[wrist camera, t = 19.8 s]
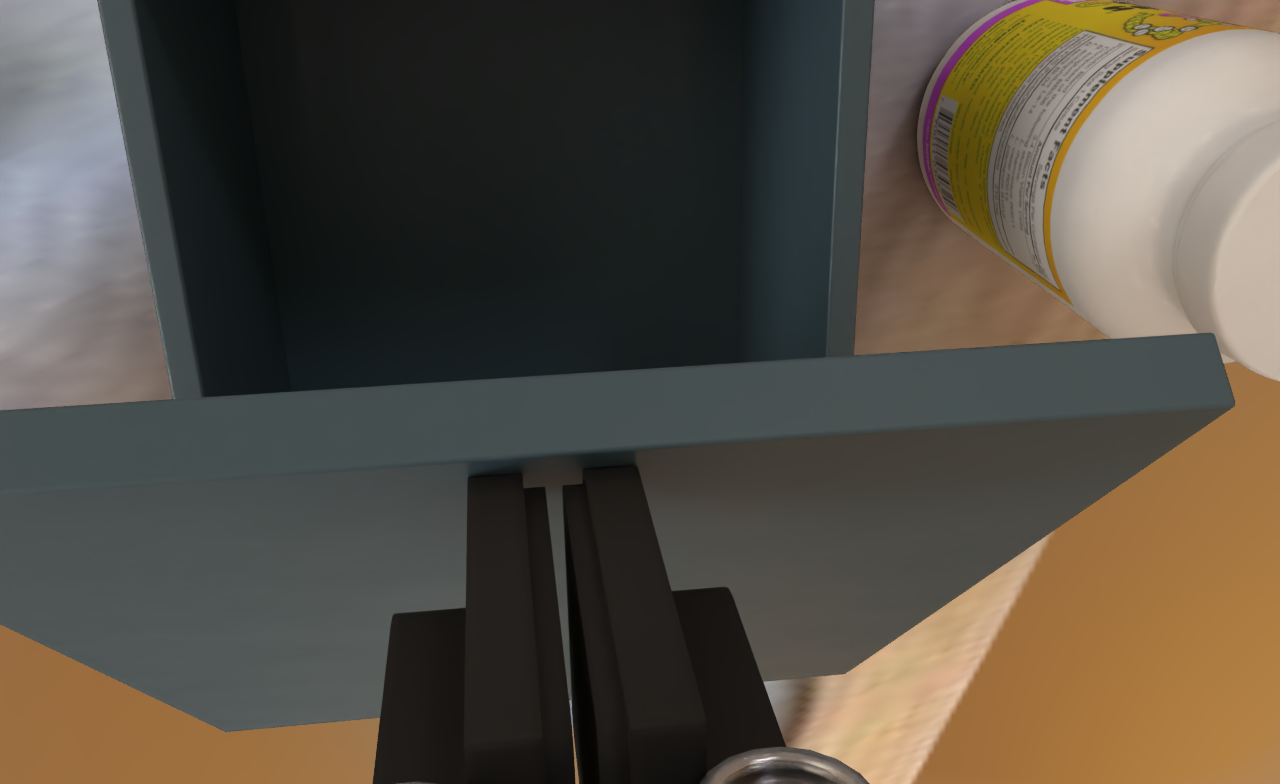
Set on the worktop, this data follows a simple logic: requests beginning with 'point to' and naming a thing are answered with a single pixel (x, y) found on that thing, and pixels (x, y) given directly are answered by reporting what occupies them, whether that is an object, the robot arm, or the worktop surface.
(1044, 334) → the worktop surface
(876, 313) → the worktop surface
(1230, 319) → the supplement bottle
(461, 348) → the dark grey open box
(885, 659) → the worktop surface
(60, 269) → the worktop surface
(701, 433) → the lid
